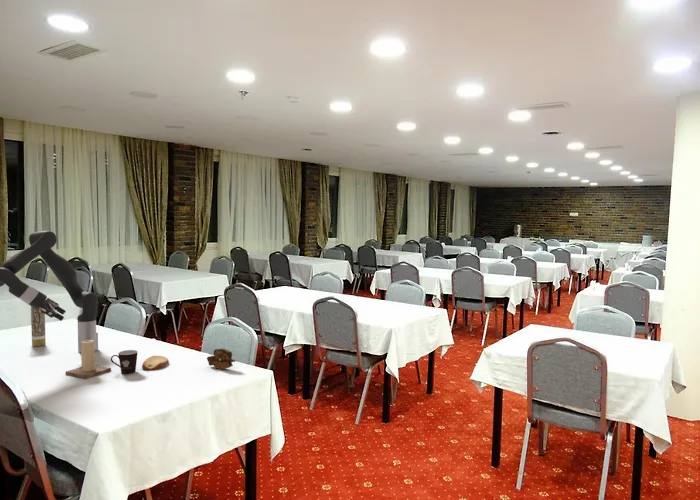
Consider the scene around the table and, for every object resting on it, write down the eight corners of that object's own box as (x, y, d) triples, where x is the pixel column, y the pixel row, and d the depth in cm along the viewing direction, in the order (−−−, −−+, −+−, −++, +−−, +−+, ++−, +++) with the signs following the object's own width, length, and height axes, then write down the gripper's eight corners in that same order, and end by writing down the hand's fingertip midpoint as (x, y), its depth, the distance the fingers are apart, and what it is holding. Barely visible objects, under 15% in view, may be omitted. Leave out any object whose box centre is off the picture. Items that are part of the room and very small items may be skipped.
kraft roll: (89, 367, 253) (88, 339, 252) (97, 369, 250) (96, 340, 249) (79, 370, 248) (78, 341, 247) (87, 372, 246) (86, 343, 245)
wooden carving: (204, 368, 259) (204, 348, 259) (209, 365, 264) (209, 346, 263) (232, 371, 254) (232, 351, 253) (237, 369, 258) (237, 349, 257)
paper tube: (39, 347, 296) (38, 304, 294) (29, 346, 297) (27, 303, 295) (48, 344, 302) (47, 302, 300) (38, 343, 304) (37, 301, 302)
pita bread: (159, 358, 277) (159, 351, 277) (180, 364, 267) (180, 357, 266) (128, 366, 262) (128, 358, 262) (149, 372, 252) (149, 365, 252)
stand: (91, 366, 259) (91, 352, 258) (110, 370, 253) (110, 355, 252) (65, 374, 246) (65, 359, 245) (85, 378, 240) (85, 363, 239)
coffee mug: (141, 370, 253) (141, 350, 252) (129, 376, 245) (128, 355, 244) (123, 368, 257) (122, 348, 256) (109, 373, 249) (109, 353, 248)
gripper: (36, 296, 239) (67, 315, 247) (40, 286, 252) (70, 305, 259) (24, 308, 239) (56, 327, 246) (29, 298, 251) (60, 316, 259)
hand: (63, 315), depth 253 cm, fingers open, 8 cm apart
